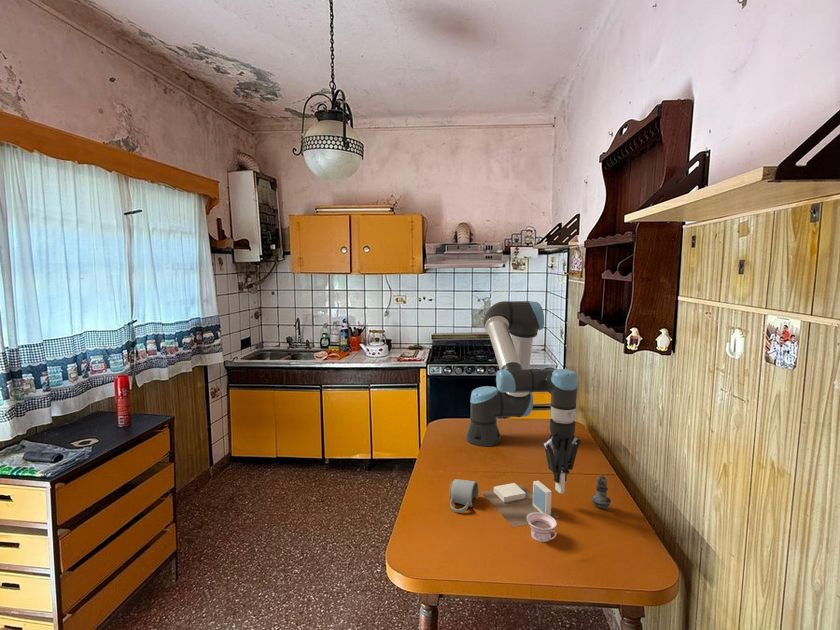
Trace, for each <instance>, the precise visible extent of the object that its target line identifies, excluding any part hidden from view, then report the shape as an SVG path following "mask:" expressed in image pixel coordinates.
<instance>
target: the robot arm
mask: <svg viewBox="0 0 840 630" xmlns="http://www.w3.org/2000/svg"><path fill="white" fill-rule="evenodd" d="M544 326H545V314H544V310H543V307H542V304H541V303H540V302H539V301H531V300H527V301H526V300H525V301H524V300H519V301H516V300H515V301H514V300H512V301H511V300H510V301H508V300H504V301H502V300H501V301H498V302H496V303H494V304H492V305H491V306H490V307H489V309H487V311H486V312H485V315H484V316H483V327H484V328H483V329H484V330H485V333H486V334H487V335H488V336H489V339H490V342H491V345H492V349H493V351H494V355H495V358H496V359H495V360H496V362H497V366H498V369H499V370H497V371H496V375H495V376H496V377H495V383H496V386H488V385H486V386H485V385H484V386H479V387H476V388H475V389H473V390H471V395H470V401H469V402H470V423H469V426H468V427H467V430H466V434H465V435H466V437H465V438H466V439H465V440H466V441H467V442H468V443H470V444H472V445H475V446H479V447H480V446H481V447H491V446H496V445H498V444H499V443H500V442H501V433H500V430H499V427H498V418H523V417H528V416H530V415H531V413H532V412H533V407H534V395H533V393H549V394H550V414H549V416H550V420H549V432H550V435H549V438H548V440H547V441H543V442H542V446H543V448H544V450H545V455H546V461H547V467H548V470H549V471H551V472H553V481H554V482H555V483H554V484H555V485H554V486H555V487H554V490H555V491H556V492H558V493H559V494H562V495H563V494H564V493H565V488H566V487H565V485H566V482H567V480H568V479H567V476H568V475H569V474H570V470H573V469H574V465H575V461H576V457H577V453H578V448H579V446H580V444H581V443H582V441H581V439H579V438H577V437H576V436H575V433H576V425H577V424H576V420H577V419H576V417H577V399H578V386H579V382H578V374H577V372H576V371H575V370H570V369H566V368H565V369H564V368H557V369H556V368H555V367H551V366H544V367H542V368H541V369H537V368H536V369H530V364H531V358H532V357H531V356H532V349H533V340H534V338H536V337H537V336H538V333H539V332H538V331H541V330H543V329H544Z"/></svg>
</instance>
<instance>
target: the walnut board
mask: <svg viewBox="0 0 840 630" xmlns="http://www.w3.org/2000/svg"><path fill="white" fill-rule="evenodd" d="M516 485H517V486H518V487H519V488H521V489H522V490H523V491H524V492H525V493H526V498H524V499H519V500H514V501H509V502H503V501H502V500H501V499H500V498H499V497H498V496H497V495H496V494H495V493H494V489H490V490H484V491H481V492H480V493H481V494H482V495H483V496H484V498H486V500H488V502H489V503H490V504H491V505H492V506H493V507H494V508H495V509H496V510H497V511H498V513H499V514H500V515H501V516H502V517H503V518H504V519H505V520H506V522H507V523H509V525H510V526H511V527H512V528H513V529H514V528H517V527H523V526H527V525H529V523H528V521H527V515H528V514H529V513H533V512H540V511H539V510H537V509H536V508H535V507H534V506H533V492H531V491H530V490H529V489H528V488H526V487H525V485H523V484H516ZM540 513H541V512H540ZM551 517H552V518H554V519H555V520H556V519H559V518H560V516H559V515H557V514H556V513H555V512H554V511H553V510H552V509H551Z"/></svg>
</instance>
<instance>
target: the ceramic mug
mask: <svg viewBox="0 0 840 630" xmlns="http://www.w3.org/2000/svg"><path fill="white" fill-rule="evenodd" d="M448 494H449V495H448V497H449V500H450V503H449V504H450V508H451V510H452V511H453V512H455V513H457V514H458V513H459V514H462V513H464V512H466V511H467V510H468V508H469V507H470V508H471V507H473V502H472V500H473V498H474V499H479V498H478V497H479V484H478V482H477V481H476V480H475V481H474V480H466V479H457V478H455V479H453V480H452V482H451V483H450V485H449V493H448ZM453 503H456V504H460V505H464V506H463V507H462V508H459V509H457V508H456V507H454V506H453Z"/></svg>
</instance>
